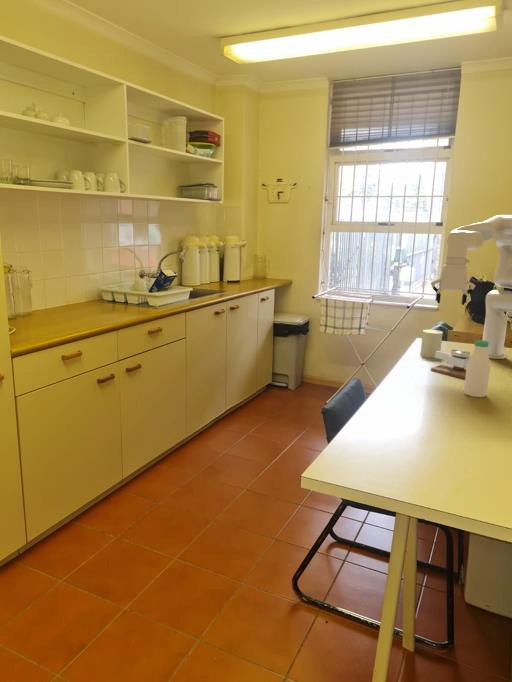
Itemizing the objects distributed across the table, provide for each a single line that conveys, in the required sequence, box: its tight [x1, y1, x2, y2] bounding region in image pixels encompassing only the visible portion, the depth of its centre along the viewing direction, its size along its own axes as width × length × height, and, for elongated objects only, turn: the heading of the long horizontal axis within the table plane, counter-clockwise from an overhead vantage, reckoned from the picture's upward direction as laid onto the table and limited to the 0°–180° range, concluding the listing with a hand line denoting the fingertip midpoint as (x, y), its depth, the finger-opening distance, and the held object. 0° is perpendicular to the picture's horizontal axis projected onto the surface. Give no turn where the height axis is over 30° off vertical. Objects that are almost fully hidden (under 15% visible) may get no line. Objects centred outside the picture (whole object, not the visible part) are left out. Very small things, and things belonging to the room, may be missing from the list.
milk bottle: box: [463, 339, 491, 398], centre depth 183 cm, size 8×8×20 cm
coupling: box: [434, 348, 471, 368], centre depth 215 cm, size 7×14×6 cm, turn 40°
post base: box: [430, 356, 467, 380], centre depth 213 cm, size 16×16×7 cm
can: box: [419, 329, 444, 359], centre depth 240 cm, size 9×9×12 cm
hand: (450, 303), depth 210 cm, fingers open, 9 cm apart
